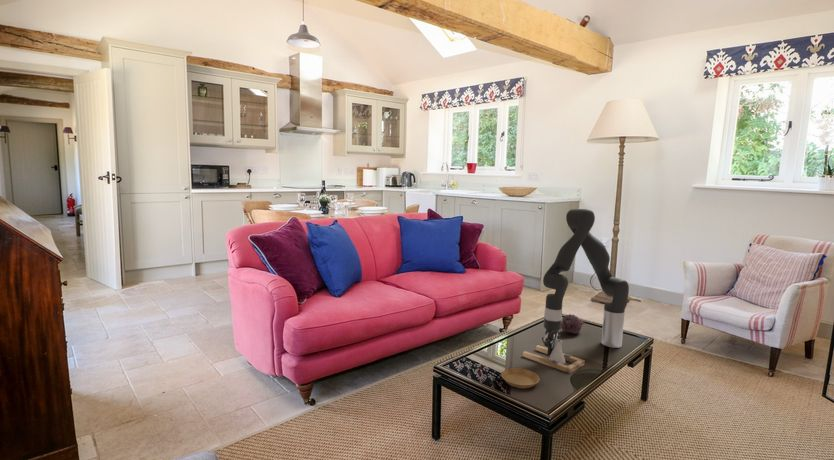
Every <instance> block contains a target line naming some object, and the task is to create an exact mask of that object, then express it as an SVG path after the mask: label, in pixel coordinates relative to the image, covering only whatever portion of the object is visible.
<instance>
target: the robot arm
mask: <svg viewBox="0 0 834 460" xmlns="http://www.w3.org/2000/svg"><path fill="white" fill-rule="evenodd" d="M565 218H566V219H565V220H566V223H567V225H568V228H569V229H570V231H571V232H572V233H573V234H572V235H571V237H569V239H568V240H567V241H566V242H565V243H564V244H563V245H562V246H561V247H560V249H559V251H558V253H557V255H556V257H555V260H554V262H553V263H552V264H551V266H550V267H549V269H548V270H547V271H546V272H545V273H544V275H543V280H542V281H543V282H542V283H543V286H544V287H545V288H548V289H550V290H551V289H552V290H555V292H554V293H548V294H547V295H545V308H544V312H543V314H544V315H543V316H544V317H543V327H544V329H545V336H542V337H541V340H542V342H543V345H544V347H546V348H548V354H547V355H548V356H549V357H550V355H551V353H552V351H553V348H554V345H555V341H554V340H555V339H559V340H560V339H561V336H562V333H561V332H559V331H561V330H562V328H561V324H562V321H563V320H562V319H563V300H564V296H565V294H566V291H567V289H568V286H569V280H568V278H567V276H566V275H564V274H562V272H569V270H570V269H571V266H573V265H572V264H573V262H574V260H575V257H576V255H577V252H578V250H579V249H580V247H581V248H582V249H583V251H584V254H585V256H586V258H587V260H588V262H589V263H590V264H591V267H592V269H593V270H594V271H593V272H594V273H595V275H596V277H597V280H598V283H599V285H600V287H601V289H602V292H603V293H605V295H606V296H607V295H608V296H609V297H612V300H611V302H610V301H609V302H605V303H604V305H603V319H602V328H601V329H602V331H601V344H602V345H603V346H605V347H608V348H614V349H615V348H618V349H619V348H622V345H623V338H624V337H623V335H624V324H625V323H624V322H625V311H626V308H627V305H628V297H629V288H630V286H629V283H628V281H627V280H625V279H621V278H618V277H614V276H613V274H612V272H611V271H610V269H609V266H610V259H611V257H610V254H609V252H608V250H607V248H606V246H605V245H604V243H603V242H602V241H601V240H599V238H597V237H596V236H595V235H593V234H592V233H591V232H590V231H591V230H592V228H593V226H594V223H595V220H596V219H595V218H596V217H595V213H594V211H593V210H591V209H589V208H573V209H570V210H568V211H567V213H566V216H565ZM560 273H561V274H560Z"/></svg>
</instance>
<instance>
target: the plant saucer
mask: <svg viewBox="0 0 834 460" xmlns="http://www.w3.org/2000/svg"><path fill="white" fill-rule="evenodd" d="M501 377H502V379H503V380H504V381H505V383H506V384H507V385H508V386H510V387H514V388H518V389H530V388H532V387H534V386H535V385H537V384H538V383H539V382H540V376H539V375H538V373H535V372H534V371H532V370H529V369H527V368H526V369H525V368H519V367H513V368H512V367H511V368H507V369H505V370H503V371H502V372H501Z"/></svg>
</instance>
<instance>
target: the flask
mask: <svg viewBox="0 0 834 460" xmlns="http://www.w3.org/2000/svg"><path fill="white" fill-rule="evenodd" d="M554 341H555V345H554V348H553V351H552V353H551V355H550V356H549V357H548V359H550V360H555V361H558V362H559V363H561V364H564V365H566V364H567V362H566V360H565V358H564V355H563V348H562V343H563V340H561V339H560V338H559V339H555V340H554Z"/></svg>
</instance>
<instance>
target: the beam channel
mask: <svg viewBox="0 0 834 460" xmlns="http://www.w3.org/2000/svg"><path fill="white" fill-rule="evenodd" d="M535 351H537V352H540V353H543V354H545V355H548V347H546V346H543V345H539V344H538V345H536V346H535ZM563 355H564V358H565V362H566V361H567V362H569V363H571V364H569V365H566V364H561V363H559V362H558V361H555V360H550V359H549V358H547V357H544V356H541V355H538V354H536V353H535V354H534V353H532V352H530V351H527V350H524V351H523V352H522V357H524V358H526V359H529V360H532V361H534V362H537V363H539V364H543V365H545V366H549V367H550V368H553V369H557V370H559V371H562V372H566V373H568V374H572V373H573V372H575V371H577V370H578V369H580V368H582V367H583V366H585V364H586V360H584V359H582V358H579V357H576V356H573V355H571V354H570V353H569V354H568V353H563Z"/></svg>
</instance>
